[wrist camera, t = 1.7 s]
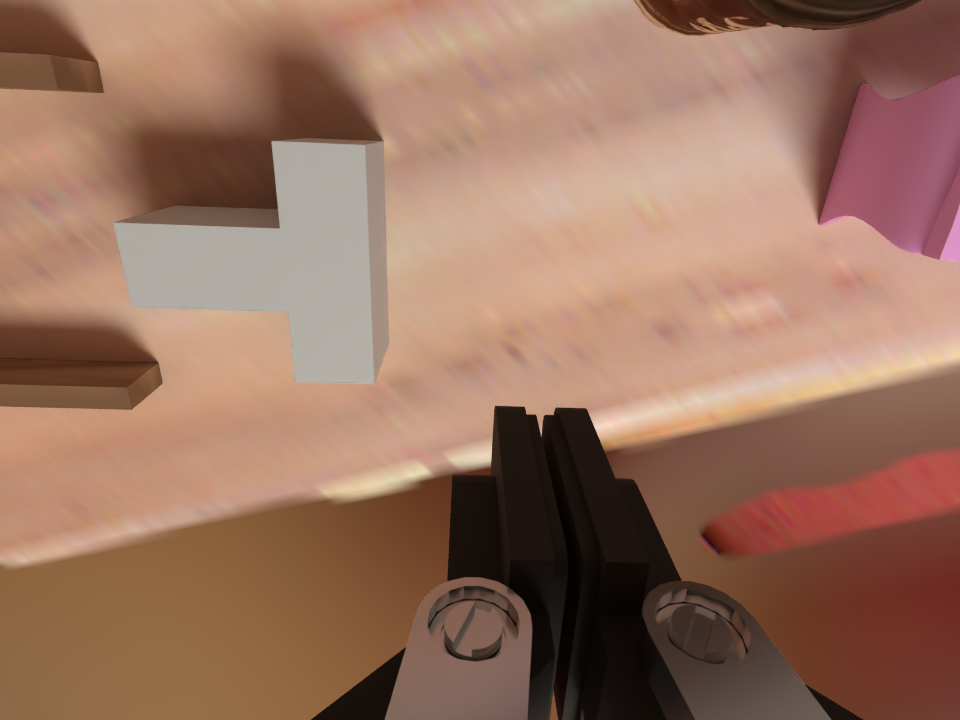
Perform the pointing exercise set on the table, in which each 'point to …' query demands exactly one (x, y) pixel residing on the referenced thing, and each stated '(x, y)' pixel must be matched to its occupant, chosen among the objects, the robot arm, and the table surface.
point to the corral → (63, 377)
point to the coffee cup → (764, 14)
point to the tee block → (282, 257)
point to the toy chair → (903, 169)
